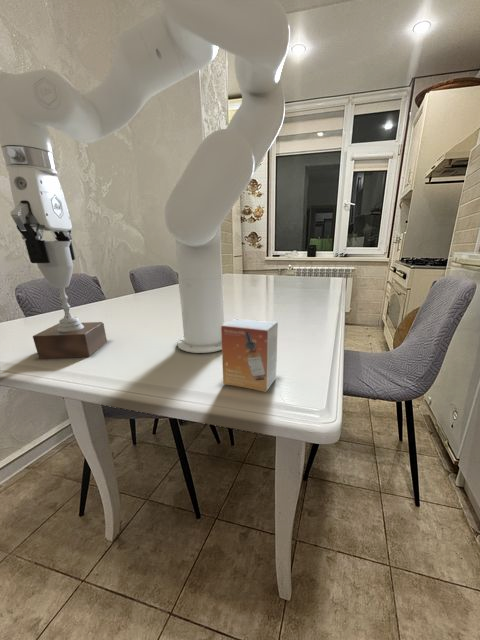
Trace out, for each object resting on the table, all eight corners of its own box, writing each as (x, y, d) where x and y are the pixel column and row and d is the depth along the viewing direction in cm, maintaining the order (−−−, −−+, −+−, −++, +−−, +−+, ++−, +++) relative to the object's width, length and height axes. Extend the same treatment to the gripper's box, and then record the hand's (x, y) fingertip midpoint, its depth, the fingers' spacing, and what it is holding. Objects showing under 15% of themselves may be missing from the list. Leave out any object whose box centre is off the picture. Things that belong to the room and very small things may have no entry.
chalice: (70, 334, 60) (48, 241, 54) (43, 332, 61) (18, 241, 55) (96, 324, 67) (79, 241, 60) (71, 323, 68) (51, 241, 62)
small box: (222, 385, 49) (219, 325, 46) (235, 372, 54) (234, 317, 51) (267, 392, 47) (267, 330, 43) (277, 378, 52) (278, 321, 48)
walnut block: (107, 341, 71) (103, 321, 69) (89, 356, 62) (84, 334, 60) (63, 343, 70) (58, 323, 68) (38, 358, 60) (32, 336, 59)
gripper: (23, 150, 45) (51, 264, 51) (75, 174, 62) (92, 259, 68) (-30, 149, 45) (5, 264, 51) (37, 173, 61) (57, 259, 67)
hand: (55, 261), depth 59 cm, fingers open, 9 cm apart
